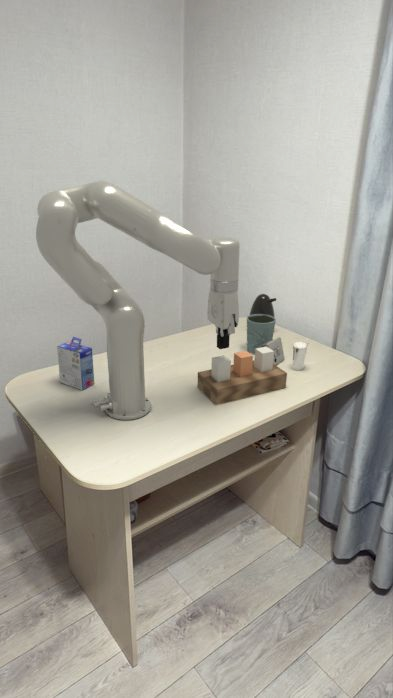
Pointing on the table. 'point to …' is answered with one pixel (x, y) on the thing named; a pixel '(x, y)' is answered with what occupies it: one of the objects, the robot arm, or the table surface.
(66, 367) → the ink cartridge box
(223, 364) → the grey peg left
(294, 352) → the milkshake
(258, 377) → the socket board
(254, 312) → the pump dispenser
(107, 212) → the robot arm
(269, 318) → the teal plant pot
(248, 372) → the terracotta peg
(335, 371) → the table surface
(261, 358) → the grey peg right
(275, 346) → the electrical switch
